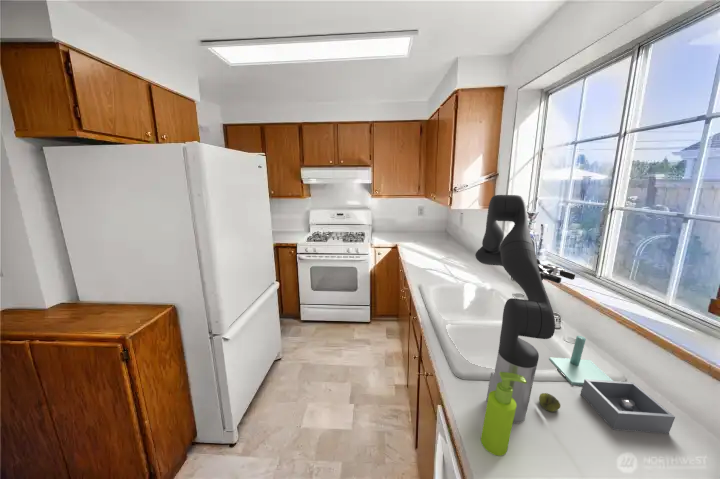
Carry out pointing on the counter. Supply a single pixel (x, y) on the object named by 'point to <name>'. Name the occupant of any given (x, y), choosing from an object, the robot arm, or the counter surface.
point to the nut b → (627, 404)
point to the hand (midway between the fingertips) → (567, 278)
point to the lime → (549, 402)
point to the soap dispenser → (500, 415)
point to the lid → (578, 366)
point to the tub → (607, 401)
